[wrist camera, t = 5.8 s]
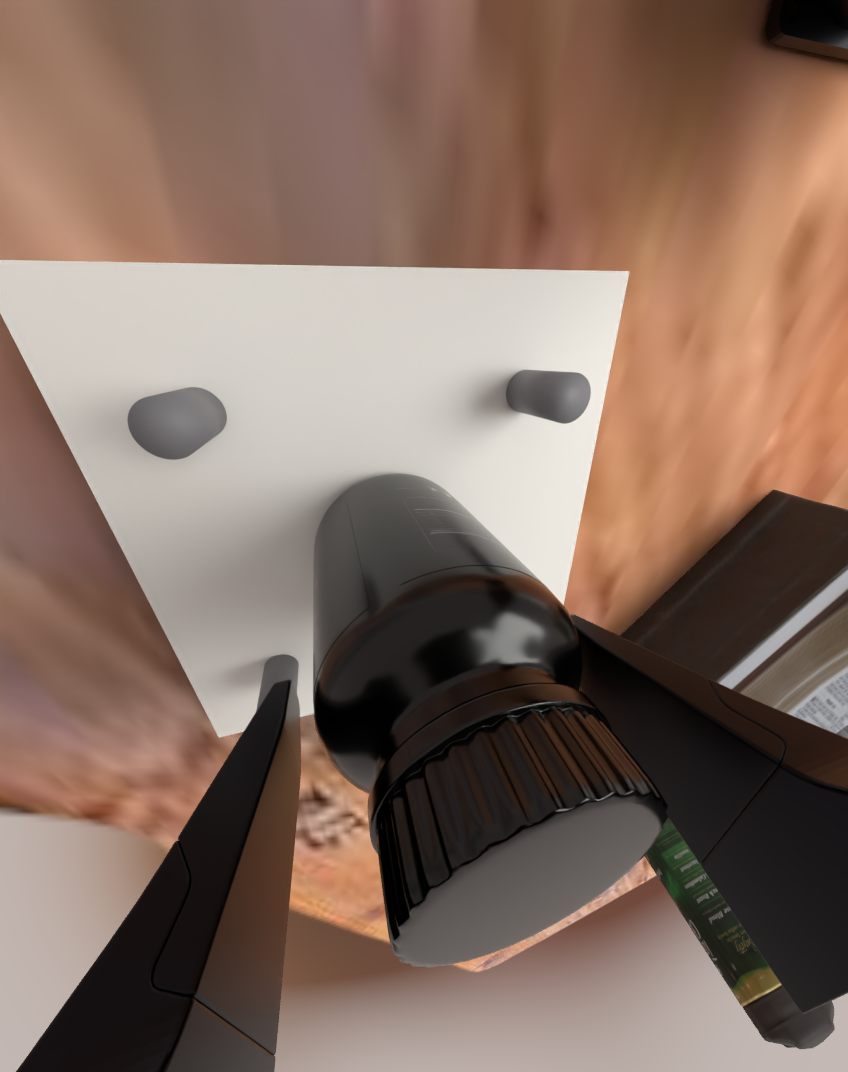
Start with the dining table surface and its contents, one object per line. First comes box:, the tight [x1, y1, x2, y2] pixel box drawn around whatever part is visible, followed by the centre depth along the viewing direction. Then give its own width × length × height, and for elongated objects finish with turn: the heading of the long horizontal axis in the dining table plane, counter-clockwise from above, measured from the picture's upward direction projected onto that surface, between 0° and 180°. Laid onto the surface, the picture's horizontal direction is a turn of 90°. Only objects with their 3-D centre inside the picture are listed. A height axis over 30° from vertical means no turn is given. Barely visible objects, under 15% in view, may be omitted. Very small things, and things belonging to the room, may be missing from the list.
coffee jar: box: [644, 818, 834, 1049], centre depth 42 cm, size 10×8×19 cm
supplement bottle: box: [313, 473, 668, 968], centre depth 10 cm, size 7×7×12 cm
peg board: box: [0, 260, 629, 738], centre depth 15 cm, size 20×20×4 cm
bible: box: [620, 490, 848, 738], centre depth 27 cm, size 23×27×10 cm
